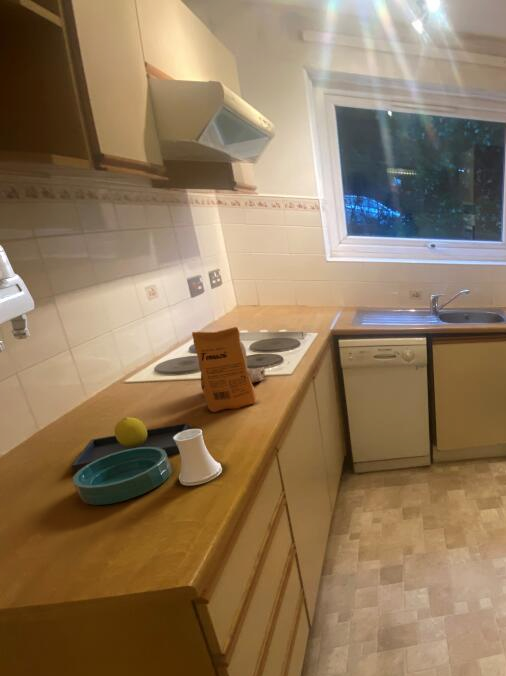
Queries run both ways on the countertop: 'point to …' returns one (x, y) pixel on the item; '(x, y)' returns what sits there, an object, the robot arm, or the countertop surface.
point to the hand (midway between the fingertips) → (11, 344)
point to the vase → (195, 458)
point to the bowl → (122, 475)
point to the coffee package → (223, 370)
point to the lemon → (130, 432)
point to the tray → (111, 445)
